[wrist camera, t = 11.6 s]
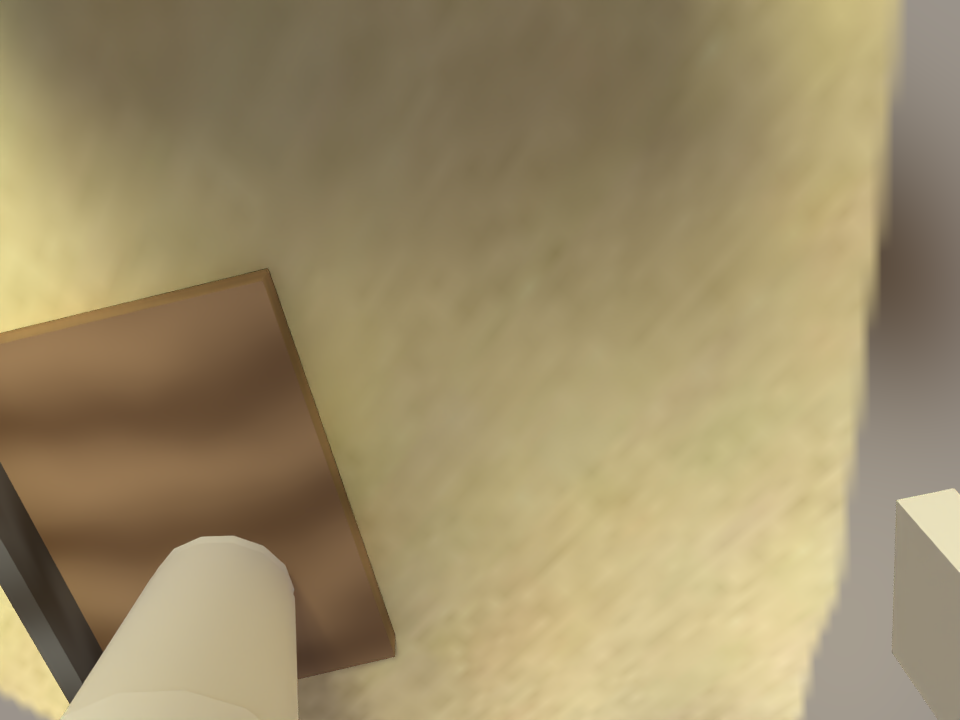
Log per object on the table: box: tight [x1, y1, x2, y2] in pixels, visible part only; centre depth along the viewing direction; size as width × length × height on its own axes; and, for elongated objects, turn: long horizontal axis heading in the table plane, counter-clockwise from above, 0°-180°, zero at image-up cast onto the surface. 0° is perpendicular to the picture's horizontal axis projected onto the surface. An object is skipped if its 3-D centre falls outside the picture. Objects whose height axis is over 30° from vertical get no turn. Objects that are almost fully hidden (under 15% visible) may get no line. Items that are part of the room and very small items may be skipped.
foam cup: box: [60, 536, 299, 720], centre depth 34 cm, size 10×9×13 cm
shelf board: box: [0, 269, 395, 704], centre depth 38 cm, size 20×14×4 cm
